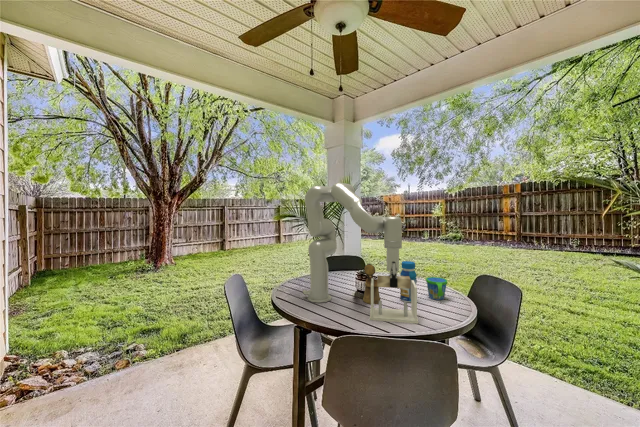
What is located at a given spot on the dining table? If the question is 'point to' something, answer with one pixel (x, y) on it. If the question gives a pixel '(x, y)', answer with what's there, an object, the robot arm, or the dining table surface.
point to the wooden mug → (370, 272)
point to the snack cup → (436, 287)
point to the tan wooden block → (402, 281)
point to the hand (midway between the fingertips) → (393, 285)
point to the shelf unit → (395, 314)
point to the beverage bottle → (409, 272)
